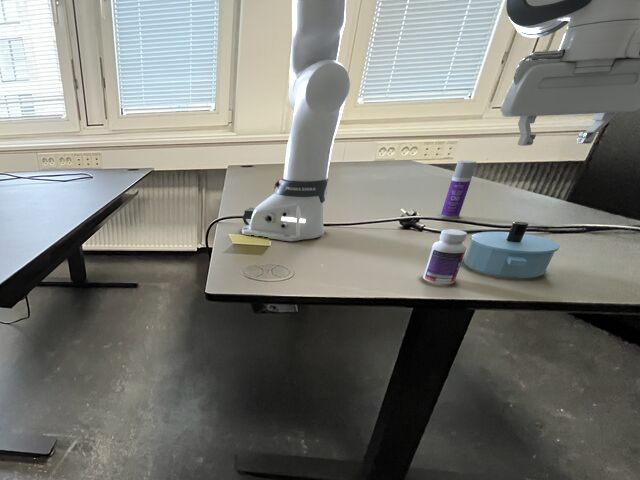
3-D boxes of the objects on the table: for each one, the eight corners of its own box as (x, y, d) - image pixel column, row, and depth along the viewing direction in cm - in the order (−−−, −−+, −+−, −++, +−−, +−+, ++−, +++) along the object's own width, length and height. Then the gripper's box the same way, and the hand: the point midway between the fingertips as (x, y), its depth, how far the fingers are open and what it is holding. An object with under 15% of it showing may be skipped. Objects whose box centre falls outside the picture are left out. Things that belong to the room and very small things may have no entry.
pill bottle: (458, 287, 78) (477, 236, 73) (427, 286, 79) (443, 235, 74) (447, 277, 82) (464, 228, 77) (418, 276, 83) (433, 228, 78)
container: (444, 218, 121) (461, 162, 113) (437, 214, 125) (454, 160, 117) (461, 218, 120) (480, 162, 112) (454, 214, 124) (472, 160, 116)
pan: (467, 279, 81) (477, 253, 78) (460, 252, 95) (468, 229, 92) (553, 288, 75) (567, 261, 72) (532, 258, 89) (543, 234, 86)
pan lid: (472, 252, 80) (481, 228, 78) (466, 234, 91) (473, 212, 88) (566, 260, 74) (578, 235, 72) (547, 240, 85) (557, 217, 82)
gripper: (534, 50, 64) (499, 148, 72) (685, 40, 61) (632, 143, 69) (511, 54, 70) (480, 145, 77) (649, 45, 67) (604, 140, 74)
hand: (553, 144), depth 73 cm, fingers open, 8 cm apart
